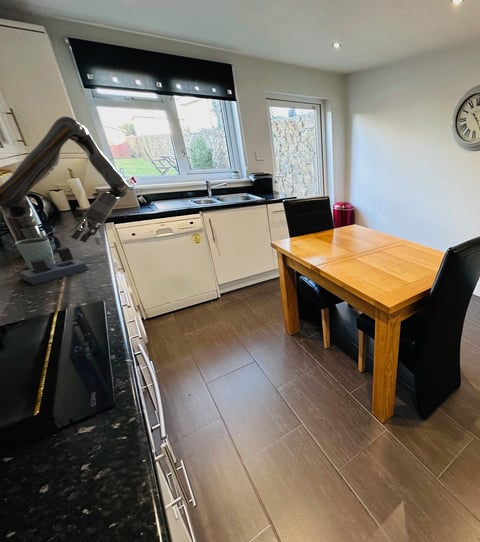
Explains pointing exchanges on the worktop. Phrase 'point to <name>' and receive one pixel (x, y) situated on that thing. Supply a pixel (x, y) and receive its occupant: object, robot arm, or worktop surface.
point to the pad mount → (54, 271)
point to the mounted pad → (39, 265)
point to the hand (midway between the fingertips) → (77, 240)
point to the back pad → (64, 254)
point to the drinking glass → (36, 250)
